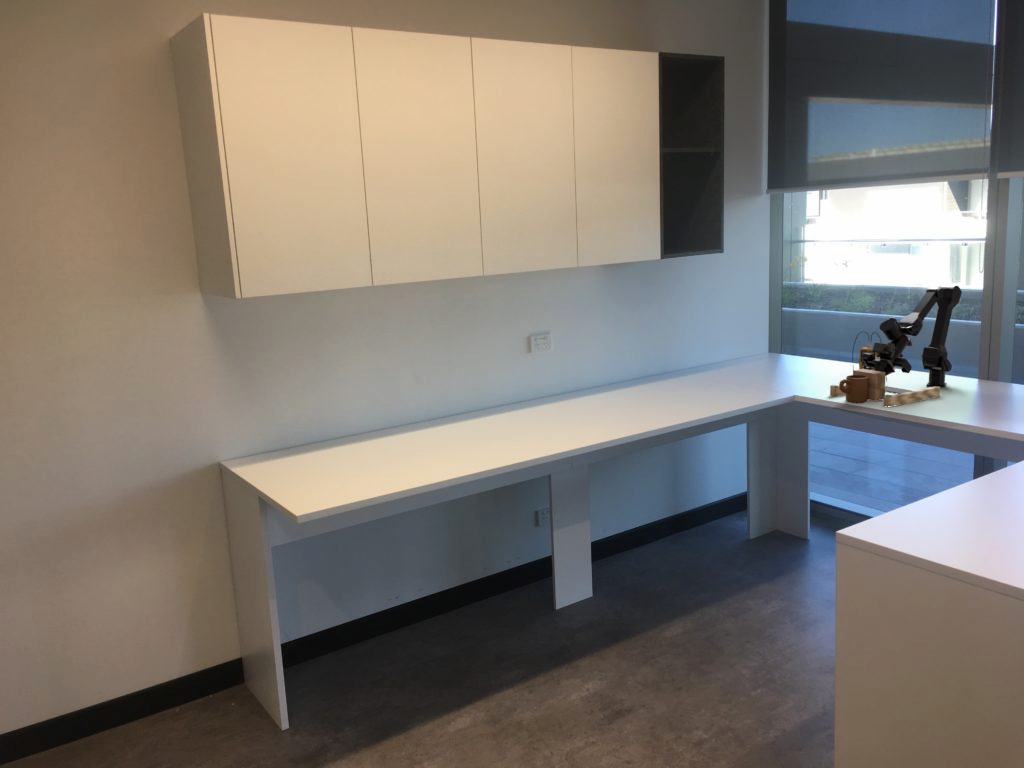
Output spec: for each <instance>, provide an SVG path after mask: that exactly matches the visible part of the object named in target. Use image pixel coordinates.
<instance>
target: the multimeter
mask: <svg viewBox="0 0 1024 768" xmlns="http://www.w3.org/2000/svg"><path fill="white" fill-rule="evenodd" d="M861 333H862V331H860V332H859V333H858V334H857V335H856V337H855V340H854V343H853V347H852V354H851V355H852V361H854V348H855V344H856V341H857V338H858V336H859V335H860V334H861ZM864 333H865V334H866V335H867V336H868V342H867V347H866V346H865V347H860V348H859V359H858V370H859V369H867V370H874V371H875V368H871V367H868V366H866V364H865V363H864V362H863V361H862V359H861V357H862V355H863V354H864V353H868V354H873V355H874V356H875V357H879V356H878V355H877V354H878V353H877V352H875V351H872V349H873V345H872V337H873V335H874V333H875V334H876V335H877V336H878V338H879V340H880V342H882V339H881V336H880V335H879V334H878V333H877V332H876V331H874V332H872V334H871V336H870V334H869V333H868V332H867V331H864ZM879 358H880V357H879ZM854 368H855V367H854V366H852V375H853V374H854V370H855V369H854ZM885 381H886V382H887V381H888V378H887V376H885Z"/></svg>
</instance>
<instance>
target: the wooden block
mask: <svg viewBox="0 0 1024 768" xmlns="http://www.w3.org/2000/svg"><path fill="white" fill-rule="evenodd" d="M885 373H886V372H880V371H874V370H867V369H859V368H858V369H854V374H853V373H852V375H864V376H867V377H868V400H867V401H869V400H870V401H875V402H876V401H881V400H883V398H884V395H886V392H885V386H886V382H885V381H886V376H885Z"/></svg>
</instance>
